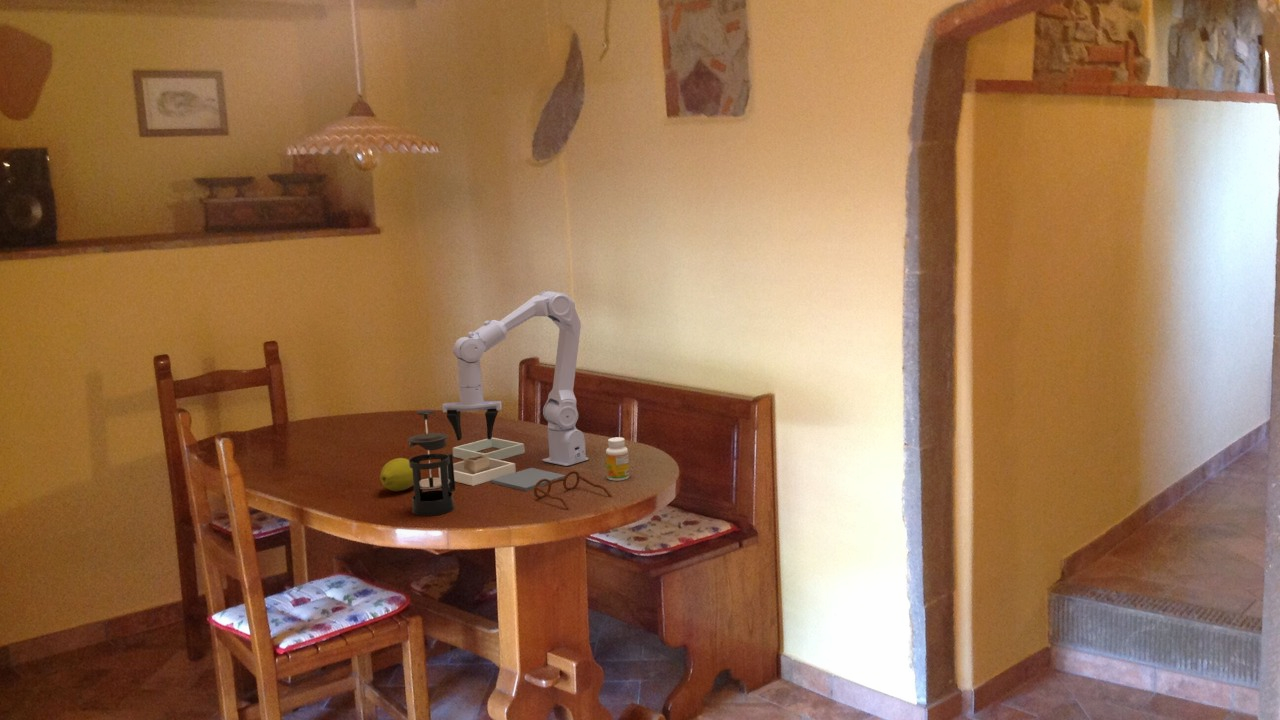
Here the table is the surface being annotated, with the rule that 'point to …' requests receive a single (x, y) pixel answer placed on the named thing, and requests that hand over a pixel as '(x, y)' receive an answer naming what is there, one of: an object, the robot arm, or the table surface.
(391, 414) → the table surface
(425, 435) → the french press
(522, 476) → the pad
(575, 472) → the glasses
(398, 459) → the lemon
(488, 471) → the bin
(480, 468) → the letter cube
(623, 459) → the supplement bottle
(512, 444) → the bin
